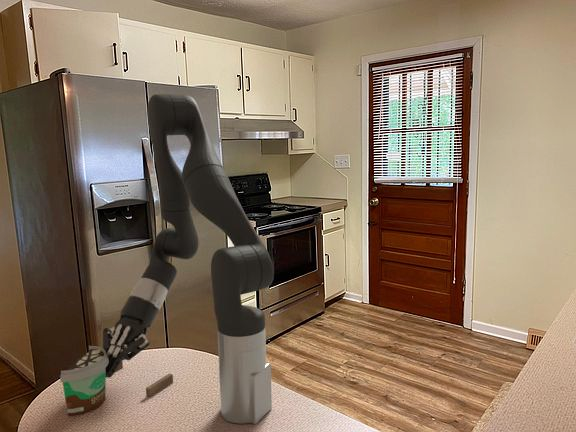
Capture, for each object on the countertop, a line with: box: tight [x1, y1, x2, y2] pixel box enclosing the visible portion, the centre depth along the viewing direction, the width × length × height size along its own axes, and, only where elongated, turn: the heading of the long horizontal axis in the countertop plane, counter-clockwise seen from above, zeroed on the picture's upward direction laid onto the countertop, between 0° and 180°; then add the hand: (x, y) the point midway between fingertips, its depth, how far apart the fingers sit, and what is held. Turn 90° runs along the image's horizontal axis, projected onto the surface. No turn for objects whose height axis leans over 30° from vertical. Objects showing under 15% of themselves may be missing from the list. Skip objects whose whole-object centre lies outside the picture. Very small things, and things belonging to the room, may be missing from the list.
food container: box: [59, 345, 109, 417], centre depth 90 cm, size 12×6×10 cm, turn 178°
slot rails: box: [115, 361, 174, 399], centre depth 99 cm, size 17×7×2 cm, turn 62°
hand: (104, 375), depth 92 cm, fingers closed
